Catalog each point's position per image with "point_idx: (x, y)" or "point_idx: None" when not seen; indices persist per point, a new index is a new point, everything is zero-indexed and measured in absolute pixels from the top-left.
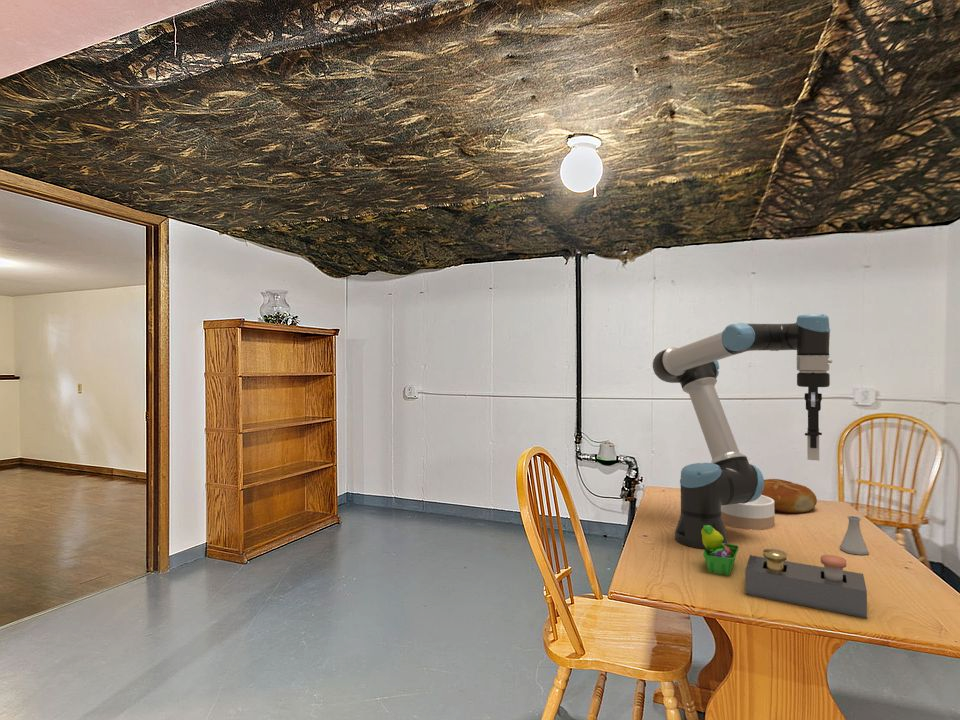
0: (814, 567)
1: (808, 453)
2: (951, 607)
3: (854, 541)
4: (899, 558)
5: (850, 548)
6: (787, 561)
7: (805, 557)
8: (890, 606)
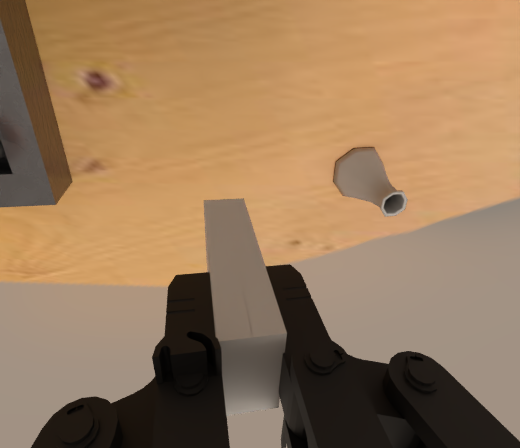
0: (11, 107)
1: (207, 229)
2: (137, 285)
3: (351, 182)
4: (341, 235)
5: (342, 169)
6: (2, 33)
7: (272, 75)
8: (71, 218)
